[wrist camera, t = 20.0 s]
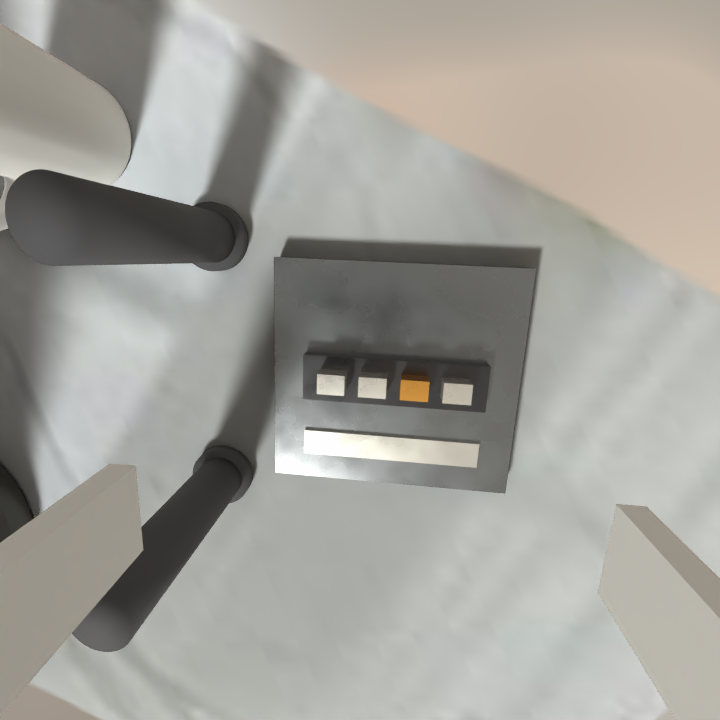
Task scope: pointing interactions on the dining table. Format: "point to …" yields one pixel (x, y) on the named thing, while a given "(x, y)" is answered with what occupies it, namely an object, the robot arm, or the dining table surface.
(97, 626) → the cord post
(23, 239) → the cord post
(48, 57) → the mug
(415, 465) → the breaker panel
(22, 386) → the dining table surface
